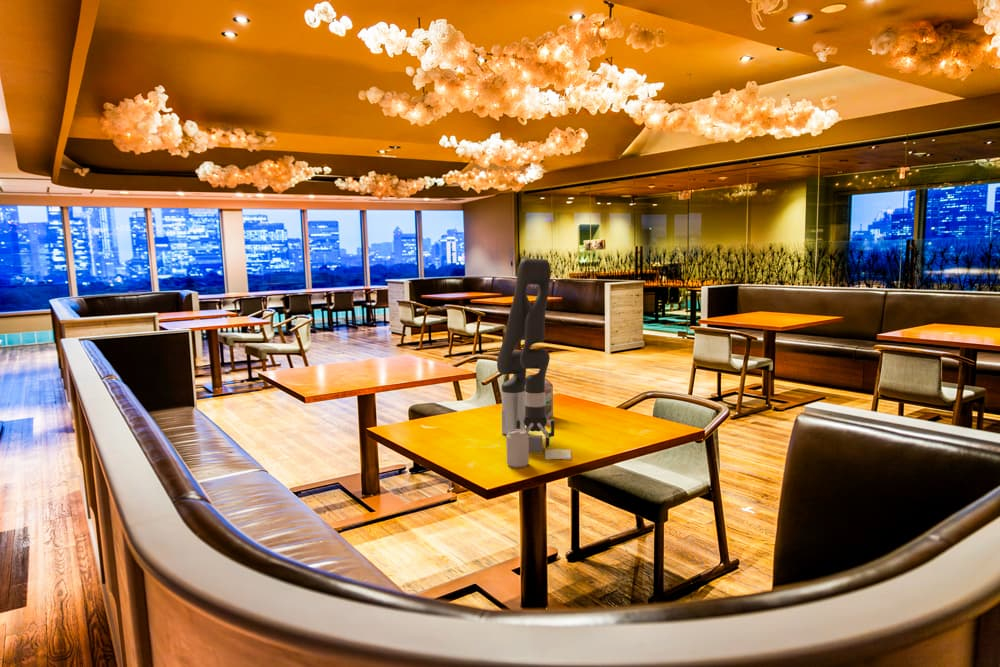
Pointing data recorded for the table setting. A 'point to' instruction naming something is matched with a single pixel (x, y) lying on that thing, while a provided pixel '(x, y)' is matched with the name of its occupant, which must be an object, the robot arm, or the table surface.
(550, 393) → the milk carton
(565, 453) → the mat
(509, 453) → the can
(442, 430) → the table surface
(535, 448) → the cube
